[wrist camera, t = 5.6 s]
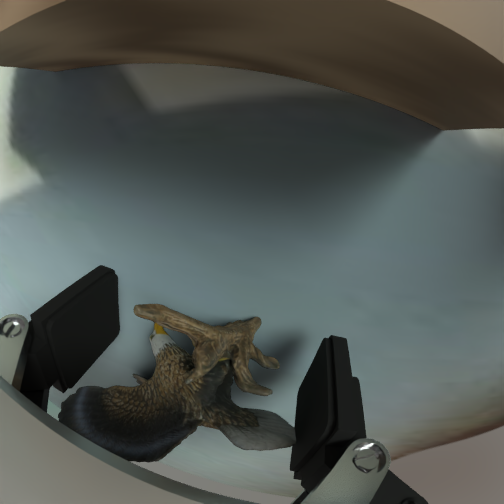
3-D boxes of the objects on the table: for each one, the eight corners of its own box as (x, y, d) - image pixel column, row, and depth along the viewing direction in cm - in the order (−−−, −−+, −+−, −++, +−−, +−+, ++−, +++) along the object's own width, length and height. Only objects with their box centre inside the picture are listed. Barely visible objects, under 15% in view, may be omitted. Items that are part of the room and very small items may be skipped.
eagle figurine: (132, 221, 9) (52, 361, 11) (161, 431, 4) (58, 497, 5) (271, 298, 14) (171, 394, 16) (352, 423, 8) (205, 499, 10)
